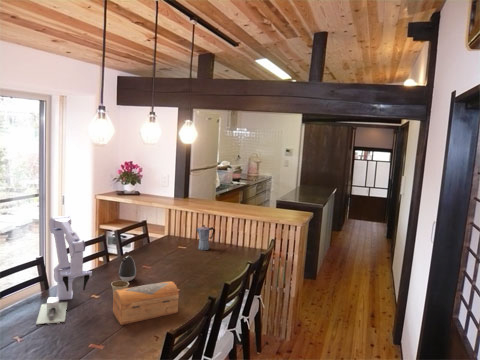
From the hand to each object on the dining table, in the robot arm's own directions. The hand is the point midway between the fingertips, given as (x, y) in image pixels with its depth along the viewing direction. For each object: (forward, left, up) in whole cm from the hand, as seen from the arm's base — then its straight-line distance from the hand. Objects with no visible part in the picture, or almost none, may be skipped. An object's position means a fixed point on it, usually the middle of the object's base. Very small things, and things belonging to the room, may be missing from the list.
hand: (75, 289), depth 189 cm
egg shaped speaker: (-32, +28, -10) cm, 44 cm away
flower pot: (-6, +22, -10) cm, 25 cm away
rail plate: (+5, -10, -9) cm, 15 cm away
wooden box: (+12, +34, -10) cm, 37 cm away
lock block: (+4, -10, -8) cm, 14 cm away
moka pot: (-86, +93, -10) cm, 127 cm away
